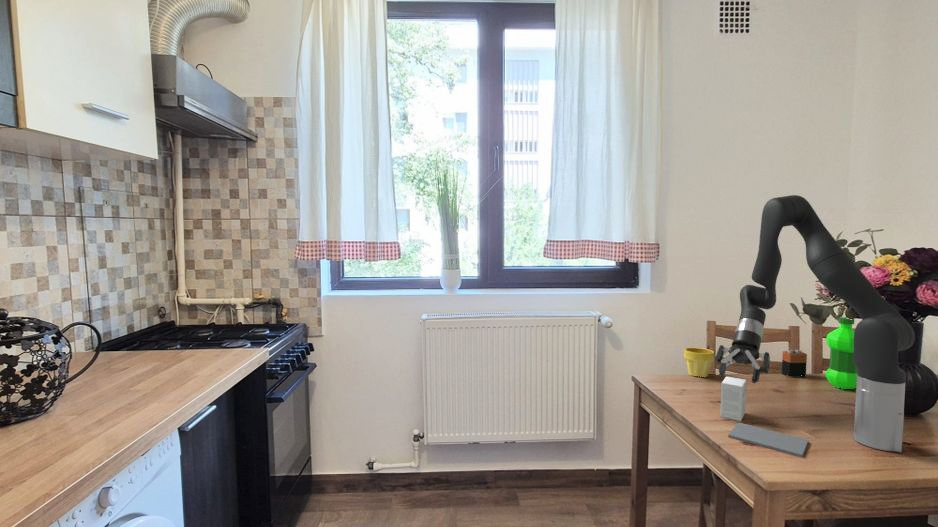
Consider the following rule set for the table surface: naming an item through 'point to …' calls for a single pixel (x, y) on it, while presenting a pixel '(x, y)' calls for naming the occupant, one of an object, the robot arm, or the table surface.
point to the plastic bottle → (842, 356)
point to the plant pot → (698, 361)
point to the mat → (769, 439)
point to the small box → (733, 398)
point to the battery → (794, 363)
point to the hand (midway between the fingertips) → (737, 378)
